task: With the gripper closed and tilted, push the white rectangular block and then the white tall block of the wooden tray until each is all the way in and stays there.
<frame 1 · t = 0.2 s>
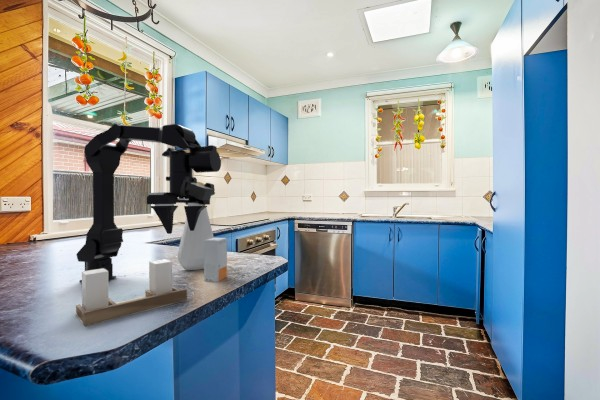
hand: (181, 232, 78), 15 cm above the counter, tool pointing down, fingers open, 9 cm apart
skincare box: (216, 281, 85), on the counter
soap bottle: (199, 270, 98), on the counter
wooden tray: (130, 305, 65), on the counter
white tall block: (94, 290, 61), point 5 cm above the counter, slide at 0.0 cm
white rectangular block: (160, 278, 70), point 5 cm above the counter, slide at 0.0 cm
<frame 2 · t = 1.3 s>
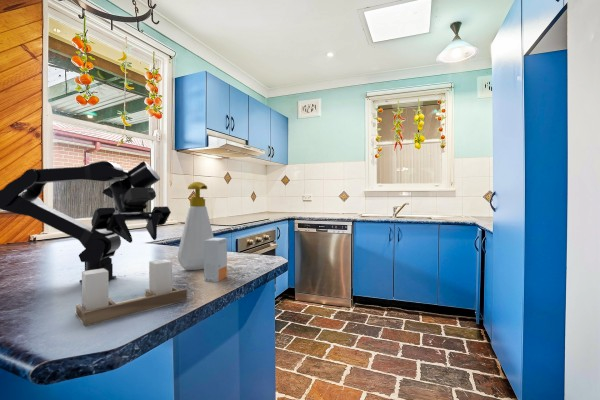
hand: (143, 240, 78), 13 cm above the counter, tool tilted 45°, fingers open, 6 cm apart
nothing on the counter moved.
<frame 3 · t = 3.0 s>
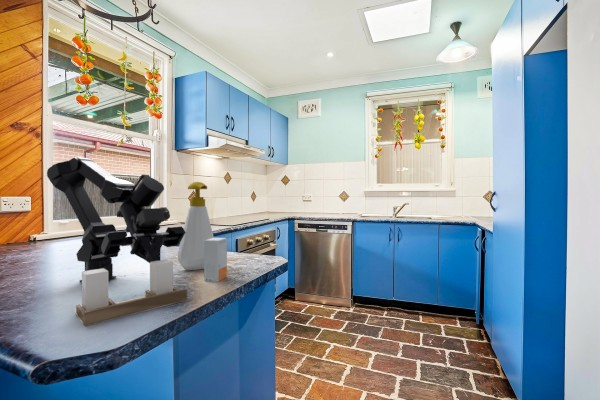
hand: (158, 266, 72), 7 cm above the counter, tool tilted 45°, fingers closed
white rectangular block: (161, 278, 70), point 5 cm above the counter, slide at 0.5 cm, touching gripper
everything else where it was.
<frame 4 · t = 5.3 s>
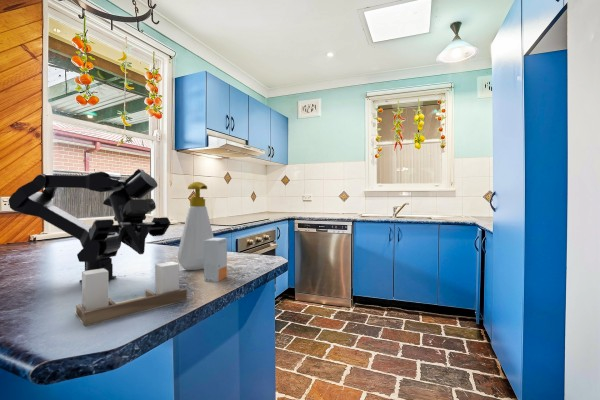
hand: (142, 253, 77), 9 cm above the counter, tool tilted 45°, fingers closed
white rectangular block: (166, 281, 67), point 5 cm above the counter, slide at 3.7 cm
everything else where it was.
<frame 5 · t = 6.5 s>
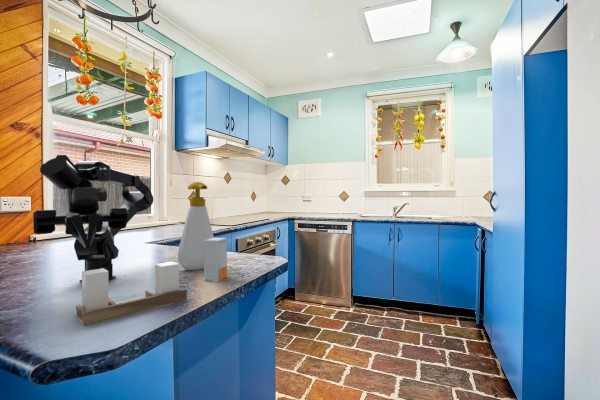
hand: (87, 247, 69), 12 cm above the counter, tool tilted 45°, fingers closed
nothing on the counter moved.
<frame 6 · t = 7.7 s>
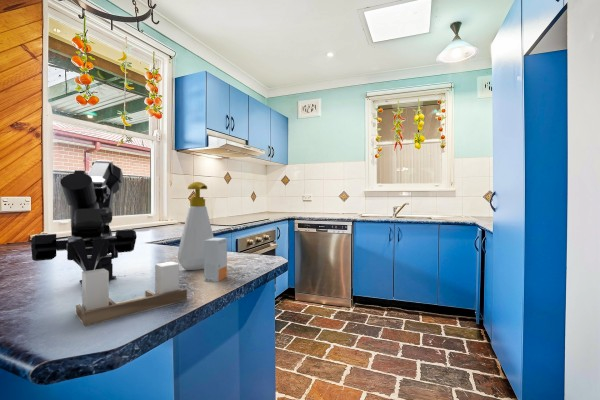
hand: (90, 275, 62), 8 cm above the counter, tool tilted 45°, fingers closed
white tall block: (95, 290, 61), point 5 cm above the counter, slide at 0.2 cm, touching gripper
everything else where it was.
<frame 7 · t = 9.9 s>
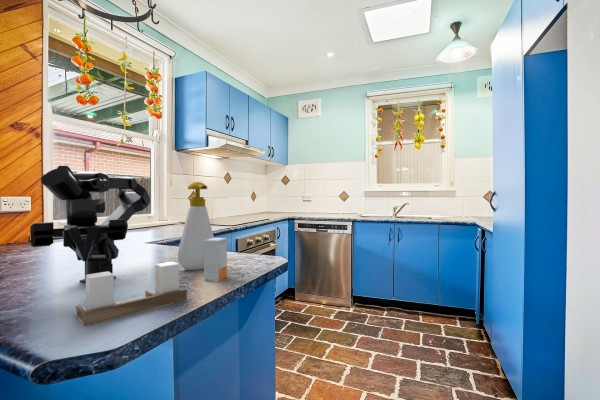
hand: (85, 260, 68), 9 cm above the counter, tool tilted 45°, fingers closed
white tall block: (99, 294, 58), point 5 cm above the counter, slide at 3.8 cm
everything else where it was.
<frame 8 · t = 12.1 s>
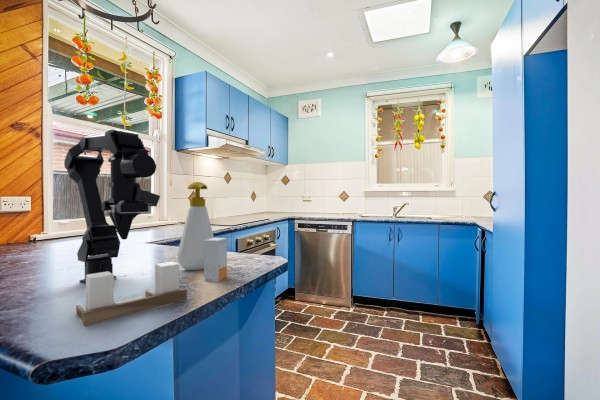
hand: (124, 239, 77), 13 cm above the counter, tool pointing down, fingers closed
nothing on the counter moved.
at the end: white rectangular block slide at 3.7 cm; white tall block slide at 3.8 cm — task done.
